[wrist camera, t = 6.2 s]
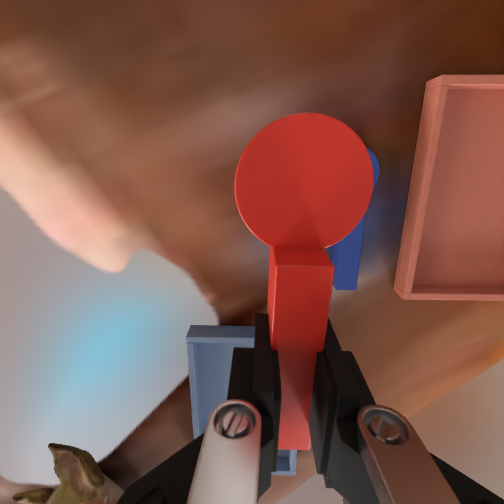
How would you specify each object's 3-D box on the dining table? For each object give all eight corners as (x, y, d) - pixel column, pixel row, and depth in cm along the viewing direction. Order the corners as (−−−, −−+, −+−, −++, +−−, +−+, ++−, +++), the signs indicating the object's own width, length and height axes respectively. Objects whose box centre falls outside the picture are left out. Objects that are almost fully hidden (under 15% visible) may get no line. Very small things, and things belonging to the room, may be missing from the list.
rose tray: (426, 81, 21) (441, 74, 20) (572, 81, 21) (601, 74, 19) (392, 289, 26) (402, 299, 24) (511, 291, 26) (530, 301, 24)
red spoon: (328, 392, 13) (344, 452, 10) (234, 390, 13) (230, 448, 10) (370, 117, 9) (412, 110, 7) (237, 113, 9) (230, 104, 7)
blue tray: (190, 325, 28) (185, 336, 26) (301, 326, 28) (304, 338, 26) (199, 455, 33) (196, 473, 31) (293, 457, 33) (295, 475, 31)
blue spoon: (361, 277, 26) (371, 290, 24) (314, 277, 26) (320, 289, 24) (377, 145, 23) (391, 144, 20) (324, 145, 23) (332, 144, 20)
